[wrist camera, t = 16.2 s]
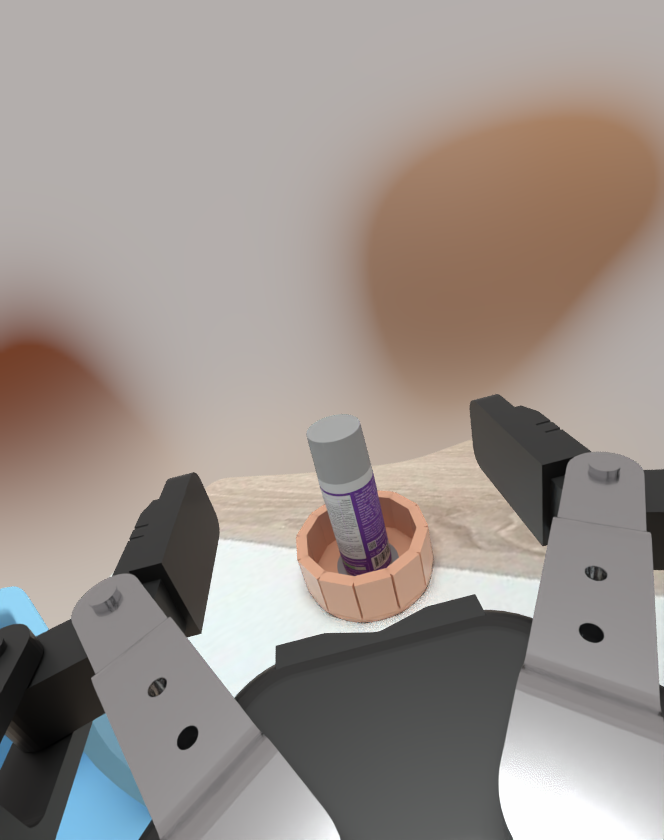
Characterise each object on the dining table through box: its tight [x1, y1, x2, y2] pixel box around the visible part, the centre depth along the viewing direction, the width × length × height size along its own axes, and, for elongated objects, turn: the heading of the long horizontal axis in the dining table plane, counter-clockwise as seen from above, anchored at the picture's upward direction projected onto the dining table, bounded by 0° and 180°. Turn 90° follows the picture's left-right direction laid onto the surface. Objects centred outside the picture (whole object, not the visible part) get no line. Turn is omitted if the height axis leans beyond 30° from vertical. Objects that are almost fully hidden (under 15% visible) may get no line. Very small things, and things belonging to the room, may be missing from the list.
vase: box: [0, 587, 152, 840], centre depth 19 cm, size 8×8×20 cm
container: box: [306, 414, 392, 576], centre depth 38 cm, size 5×5×15 cm
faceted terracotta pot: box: [296, 491, 433, 622], centre depth 40 cm, size 12×12×5 cm
